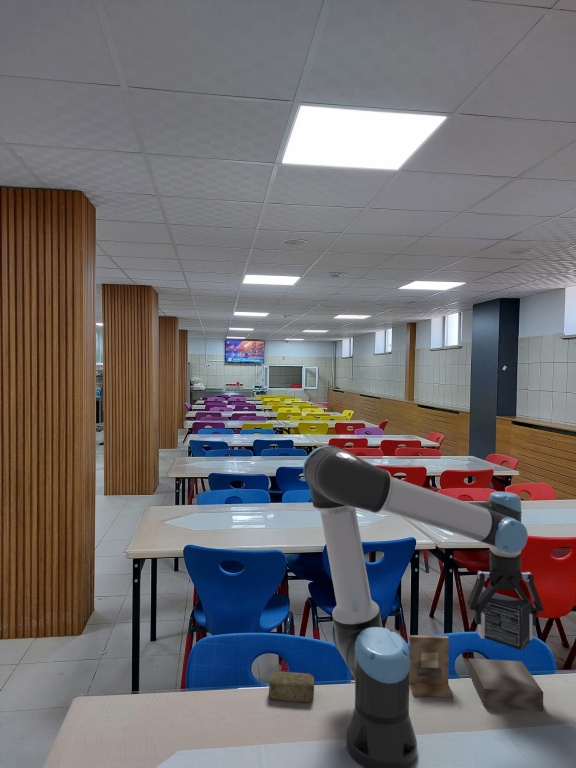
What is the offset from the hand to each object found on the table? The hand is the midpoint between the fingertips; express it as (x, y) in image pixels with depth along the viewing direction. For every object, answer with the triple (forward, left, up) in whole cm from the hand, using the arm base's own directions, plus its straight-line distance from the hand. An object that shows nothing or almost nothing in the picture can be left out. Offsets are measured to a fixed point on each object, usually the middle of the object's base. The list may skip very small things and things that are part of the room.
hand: (504, 636), depth 131 cm
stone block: (-55, -5, -15) cm, 57 cm away
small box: (0, 0, -1) cm, 1 cm away
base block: (0, 0, -15) cm, 15 cm away
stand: (-19, 0, -14) cm, 24 cm away
